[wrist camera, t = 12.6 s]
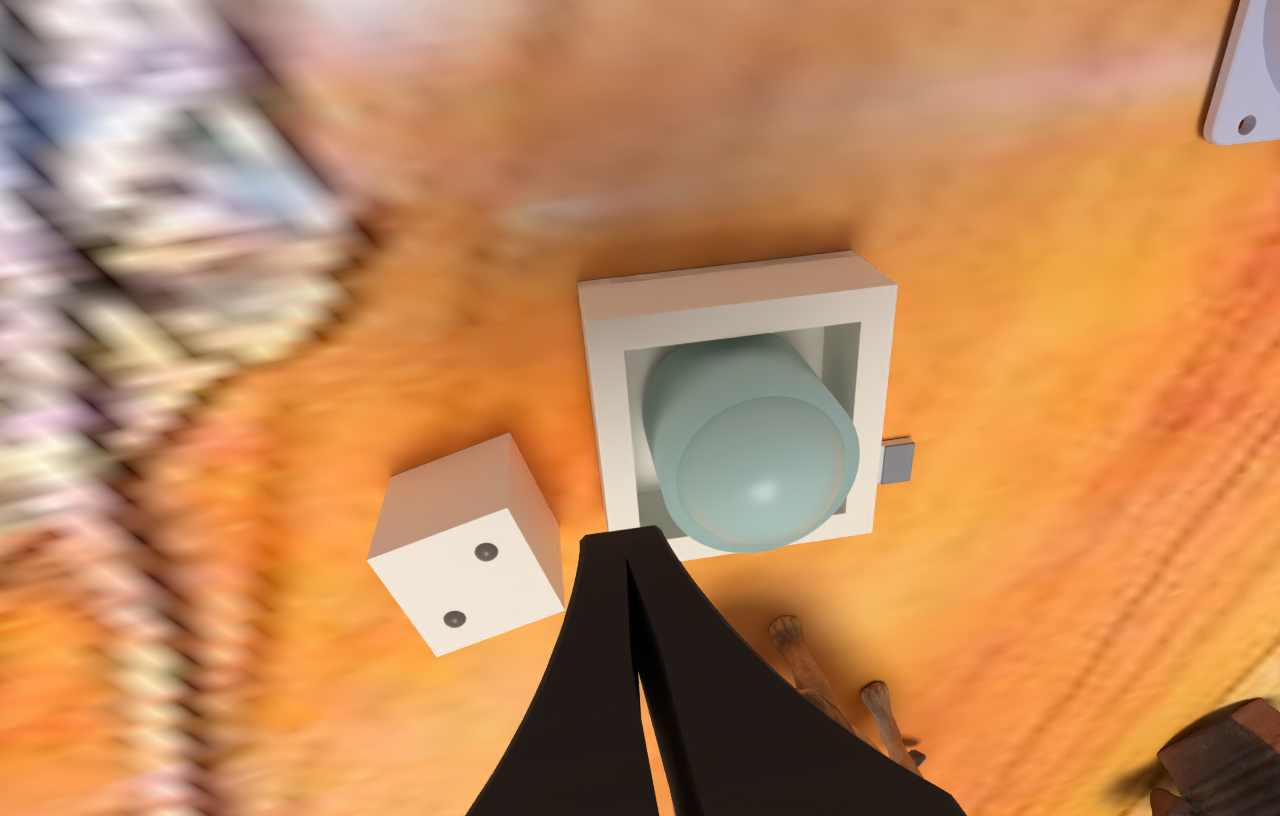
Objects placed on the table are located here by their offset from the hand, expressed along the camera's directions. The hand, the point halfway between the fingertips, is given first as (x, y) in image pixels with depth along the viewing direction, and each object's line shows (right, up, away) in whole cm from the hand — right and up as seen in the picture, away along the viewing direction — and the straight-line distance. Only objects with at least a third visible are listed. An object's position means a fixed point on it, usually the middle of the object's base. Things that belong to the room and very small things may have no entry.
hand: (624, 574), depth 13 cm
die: (-5, 0, +11) cm, 12 cm away
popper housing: (+3, +3, +10) cm, 11 cm away
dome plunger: (+3, +3, +9) cm, 10 cm away
